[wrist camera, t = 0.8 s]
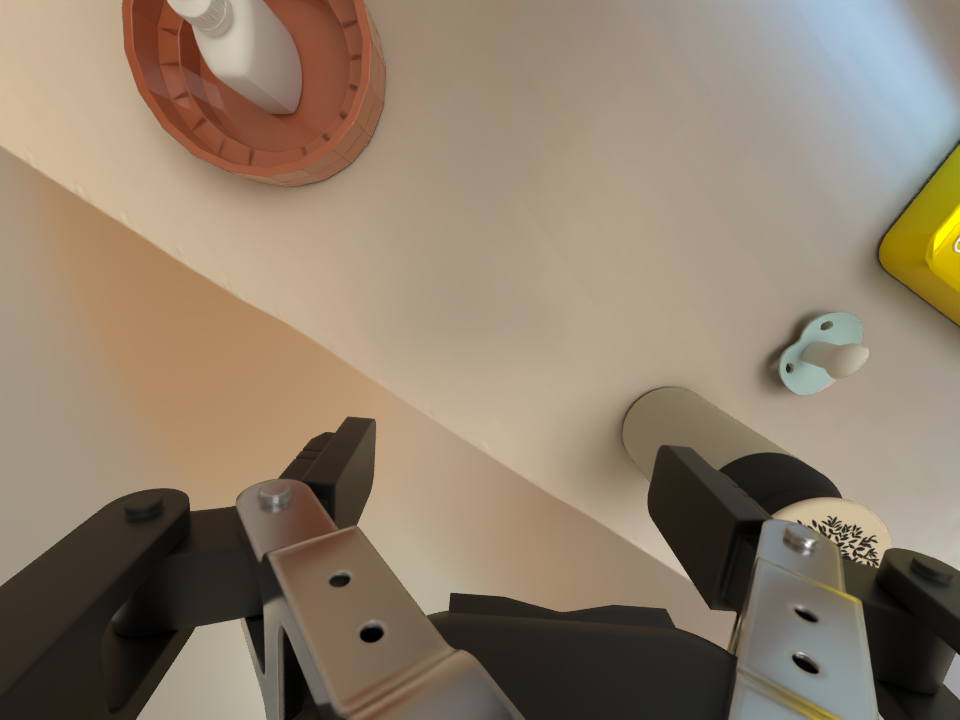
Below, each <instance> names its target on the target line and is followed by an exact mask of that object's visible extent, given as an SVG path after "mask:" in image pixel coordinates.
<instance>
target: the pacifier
mask: <svg viewBox="0 0 960 720" xmlns="http://www.w3.org/2000/svg"><path fill="white" fill-rule="evenodd" d="M826 321H830V326H829V327H828V328H827V329H825V330H821V328H820V327H821V325H822V324H823V323H824V322H826ZM862 335H863V331H862V325H861V322H860V321H859V319H858V318H856V317H855V316H853V315H851V314H848V313H843V312H831V313H826V314H823V315H820V316H818V317H816V318H815V319H813V320H812V321H811V322H809V323H808V324H807V325H806V327H805V328H804V329H803V331H802V333H801V335H800V338H799V339H798V340H797V341H796V342H795V344H793V345H791V346H789V347H788V348H787V349H786V350H785V351H784V352H783V353H782V355H781V356H780V359H779V362H778V372H779V376H780V378H781V380H782V382H783V384H784V385H785V386H786V387H787V388H788V389H789V390H790V391H792V392H794V393H796V394H799V395H811V394H814V393H818V392H820V391H822V390H824V389H826V388H827V387H829V386H830V385H831V384H833V383H834V382H835V381H836V380H837V379H840V378H844V377H847V376H849V375H851V374H853V373H854V372H856V371H857V370H858V369H859V368H860V367H861V366H862V365H863V364H864V363H865V362H866V360H867V358H868V356H869V350H868V348H867V347H865V346H863V345H860V342H861V339H862ZM787 364H789V366H790V368H791V371H790V372H789V373H787V372H786V365H787Z"/></svg>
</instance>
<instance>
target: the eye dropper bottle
mask: <svg viewBox="0 0 960 720" xmlns="http://www.w3.org/2000/svg"><path fill="white" fill-rule="evenodd" d="M167 1H168V3H169V5H170V6H171V8H173V10H174V11H175V12H176V13H178V14H179V15H180V16H181V17H183V18H184V19H185V20H186V21H188V22H189V23H190V24H191V25H192V29H193V32H194V36H195V39H196V42H197V44H198V47H199V49H200V52H201V54H202V56H203V58H204V60H205V62H206V64H207V65H208V67H209V69H210V70H211V72H212V73H213V74H214V75H215V76H216V77H217V78H218V79H219V80H221V81H222V82H223V83H225V84H226V85H228V86H229V87H230V88H232V89H233V90H235V91H236V92H238V93H239V94H241V95H242V96H243V97H245V98H246V99H248V100H249V101H251V102H252V103H254V104H255V105H257V106H258V107H260V108H261V109H263V110H264V111H266V112H267V113H270V114H292V113H294V112H295V111H296V109H297V107H298V104H299V101H300V96H301V90H302V69H301V63H300V58H299V55H298V51H297V48H296V45H295V43H294V40H293V38H292V36H291V34H290V32H289V31H288V29H287V28H286V27H285V26H284V25H283V23H282V22H281V21H280V20H279V19H278V17H277V16H276V15H275V14H274V13H273V11H272V10H271V9H270V8H269V7H268V6H267V4H266V3H265V2H264V1H263V0H167Z"/></svg>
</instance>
